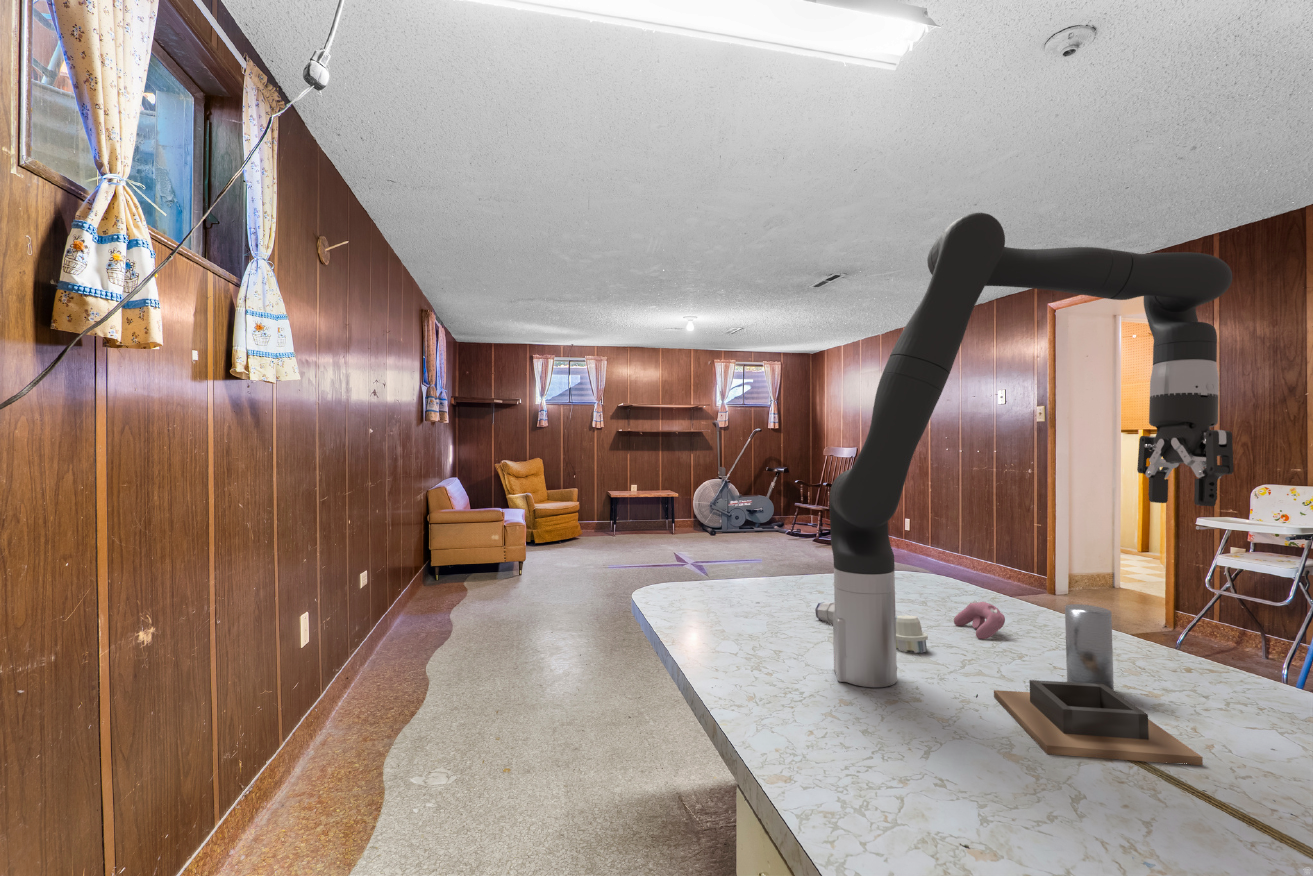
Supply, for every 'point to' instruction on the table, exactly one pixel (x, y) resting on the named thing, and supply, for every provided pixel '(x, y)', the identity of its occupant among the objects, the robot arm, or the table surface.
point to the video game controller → (981, 618)
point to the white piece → (906, 629)
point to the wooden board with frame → (1091, 723)
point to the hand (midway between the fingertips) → (1180, 504)
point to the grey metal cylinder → (1089, 645)
